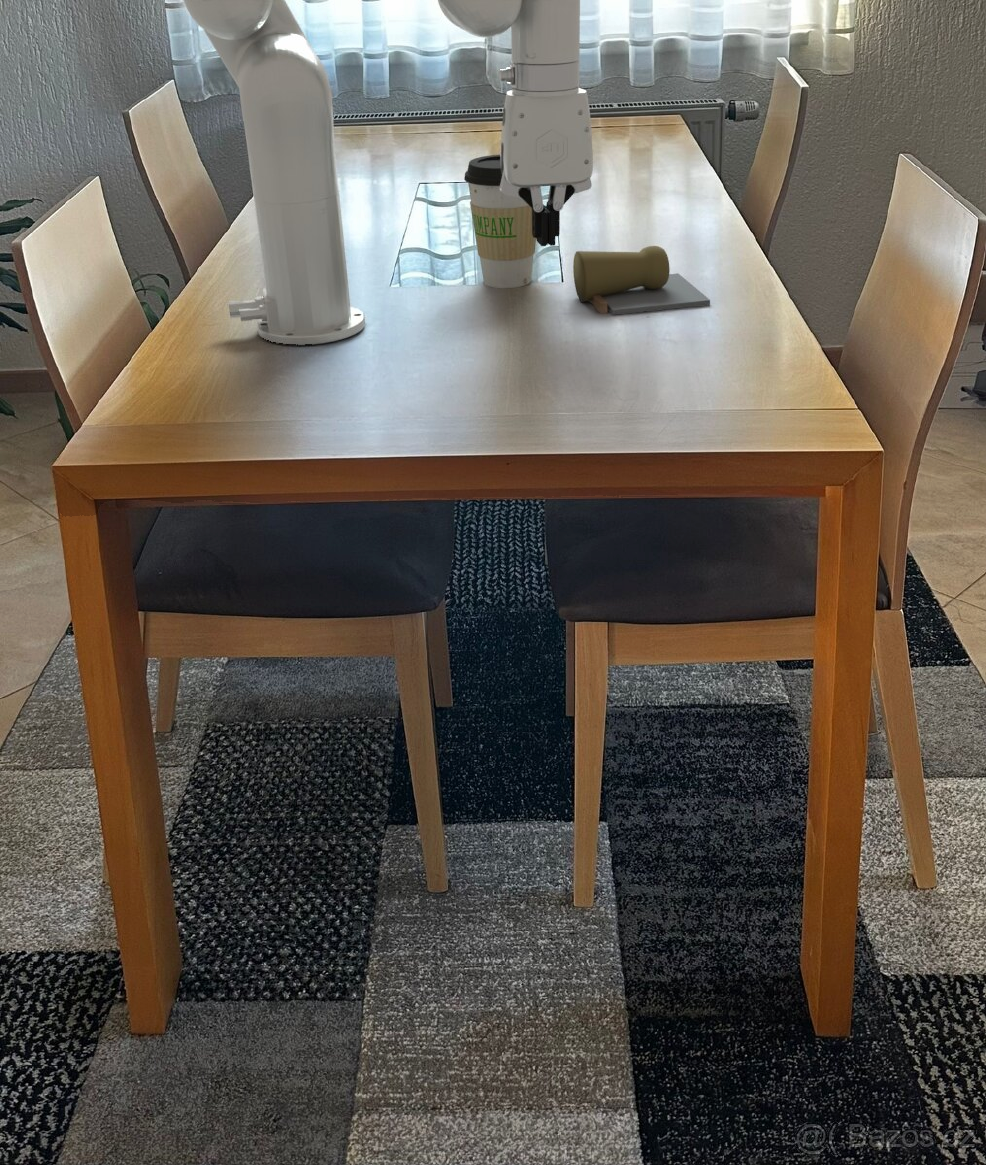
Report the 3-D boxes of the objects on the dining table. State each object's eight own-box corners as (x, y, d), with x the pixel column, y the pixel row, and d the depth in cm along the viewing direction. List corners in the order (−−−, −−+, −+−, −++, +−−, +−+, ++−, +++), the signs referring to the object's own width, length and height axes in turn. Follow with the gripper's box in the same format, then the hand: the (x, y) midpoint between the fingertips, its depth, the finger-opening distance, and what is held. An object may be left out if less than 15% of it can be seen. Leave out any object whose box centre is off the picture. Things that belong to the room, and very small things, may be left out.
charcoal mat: (612, 314, 152) (612, 309, 152) (586, 286, 162) (586, 282, 162) (709, 304, 154) (710, 300, 153) (678, 277, 164) (678, 273, 164)
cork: (577, 306, 159) (663, 295, 160) (588, 296, 153) (677, 285, 154) (570, 257, 159) (656, 247, 160) (581, 245, 153) (670, 235, 154)
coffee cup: (460, 275, 169) (453, 157, 162) (530, 266, 171) (527, 150, 164) (482, 296, 161) (476, 172, 153) (556, 286, 163) (554, 164, 156)
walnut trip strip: (600, 313, 152) (600, 303, 152) (579, 290, 161) (579, 280, 160) (607, 312, 153) (607, 302, 152) (585, 289, 161) (585, 280, 161)
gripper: (485, 86, 139) (489, 255, 148) (619, 79, 141) (615, 246, 150) (473, 76, 145) (477, 239, 154) (601, 70, 148) (598, 231, 157)
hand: (545, 242), depth 152 cm, fingers closed
